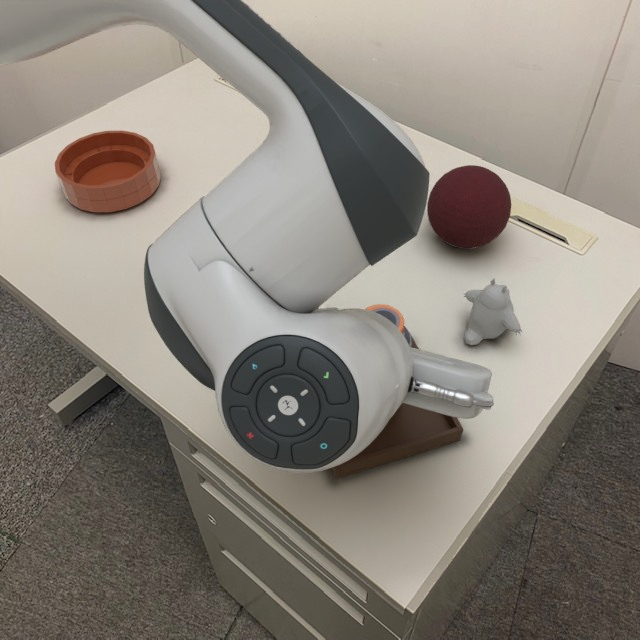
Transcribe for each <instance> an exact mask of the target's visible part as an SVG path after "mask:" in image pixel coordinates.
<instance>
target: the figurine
mask: <svg viewBox="0 0 640 640" xmlns="http://www.w3.org/2000/svg"><path fill="white" fill-rule="evenodd" d="M463 298H466V300H467V301H468V302H470V303H472V306H471V309H470V312H469V315H468V329H467V330H466V331H465V333H464V335H463V340H464V342H465V344H467V345H470V346H476V345H479V344H480V343H481V342H482V340H487V339H490V340H491V339H492V340H494V339H496V338H498V337H499V336H501V335H502V334H503V333H504V332H505V331H506V330H508V331H511V332H513V333H514V334H515V335H516V336H517V335H518V334H519V335H520V336H522V334H521V333H523V330H522V328H521V323H520V322H519V319H518V318H517V315H516V313H514V312H515V309H514V305H513V302H512V299H511V296H510V289H509V288H508V286H507V285H506V284H496V278H495V277H494V278H493V279H492V280H491V281H490V284H488V285H486V286H485V287H484V288H483V289H470V290H467V291H466V292H465V293H463Z"/></svg>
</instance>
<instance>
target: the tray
mask: <svg viewBox="0 0 640 640" xmlns="http://www.w3.org/2000/svg"><path fill="white" fill-rule="evenodd" d="M409 333H410V335H411V338H412V348H416V349H420V348H419V347H418V344H417V343H416V341H415V339H414V338H413V335H412V334H411V332H410V331H409ZM464 430H465V429H464V428H463V426H462V424H461V422H460V420H459V418H457V417H452V416H448V415H444V414H441V413H437V412H434V411H430V410H426V409H423V408H419V407H416V406H412V405H409V404H405V403H402V404H401V405H400V407H399V408H398V409H397V411H396V412H395V414H394V415H393V416H392V417H391V418H390V420H389V421H388V423H387V424H386V426H385V427H384V429H383V430H382V431H381V432H380V434H379V435H378V436H377V437H376V438H375V439H374V440H373V441H372V442H371V444H370V445H368V446H367V447H366V448H365V449H364V450H363V451H362V452H360V453H359V454H358V455H356V456H355V457H353V458H352V459H350V460H348V461H346V462H344V463H342V464H340V465H337V466H335V467H332V468H330V470H331V472H332V474H333V477H334V480H337V479H340V478H343V477H347V476H350V475H353V474H356V473H359V472H362V471H366V470H369V469H373V468H376V467H378V466H382V465H386V464H388V463H392V462H394V461H398V460H401V459H404V458H405V459H406V458H408V457H411V456H415V455H417V454H421V453H424V452H426V451H430V450H433V449H436V448H439V447H442V446H446V445H449V444H450V445H451V444H452V443H456V442H459V441H461V440H462V436H463V434H464Z"/></svg>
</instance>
